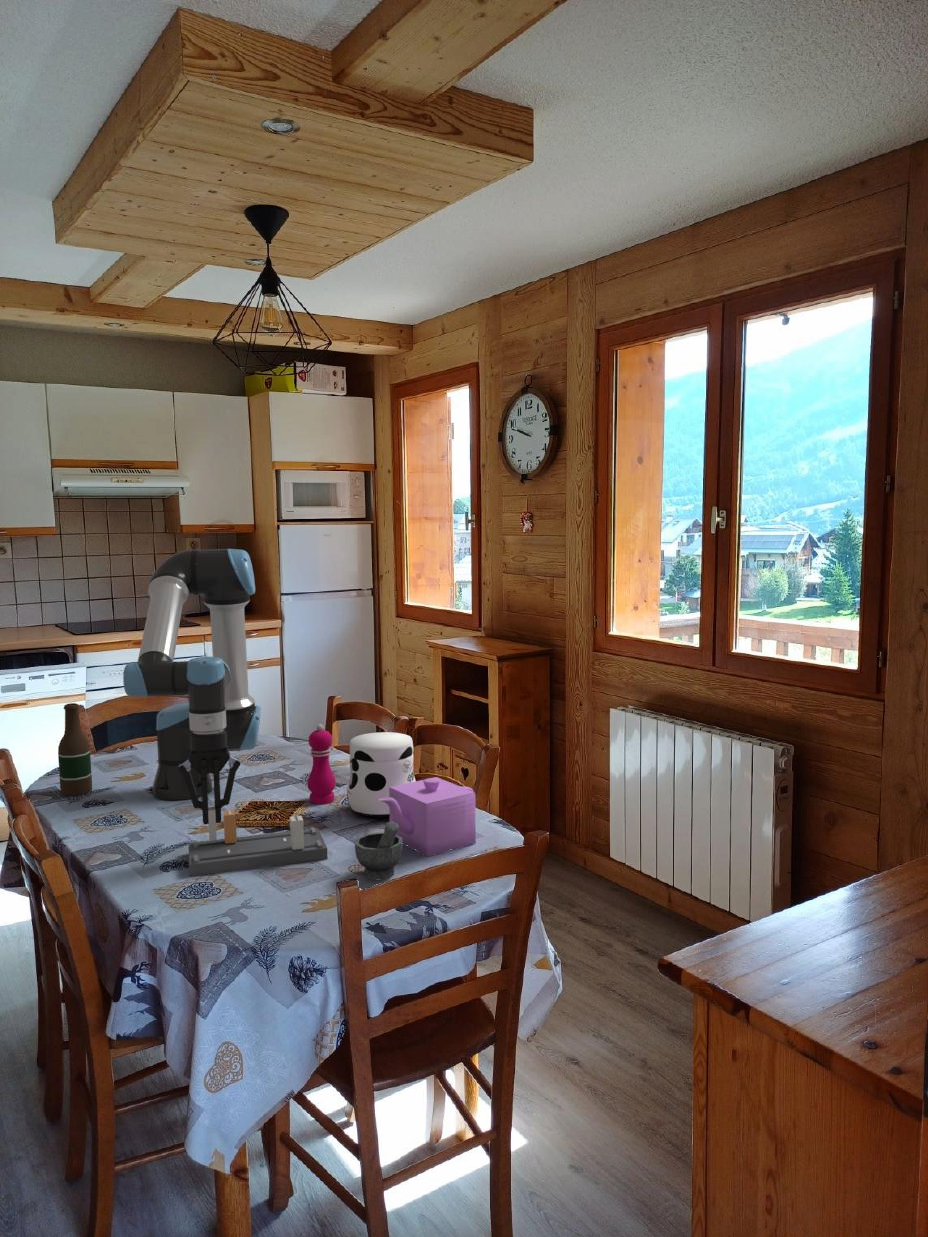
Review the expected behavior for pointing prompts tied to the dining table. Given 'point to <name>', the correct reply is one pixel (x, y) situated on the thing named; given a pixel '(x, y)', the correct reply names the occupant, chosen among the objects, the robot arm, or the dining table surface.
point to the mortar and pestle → (379, 852)
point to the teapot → (433, 815)
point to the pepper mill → (321, 768)
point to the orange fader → (230, 826)
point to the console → (254, 852)
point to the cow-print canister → (378, 770)
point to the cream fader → (297, 832)
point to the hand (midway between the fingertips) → (212, 837)
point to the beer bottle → (74, 756)
